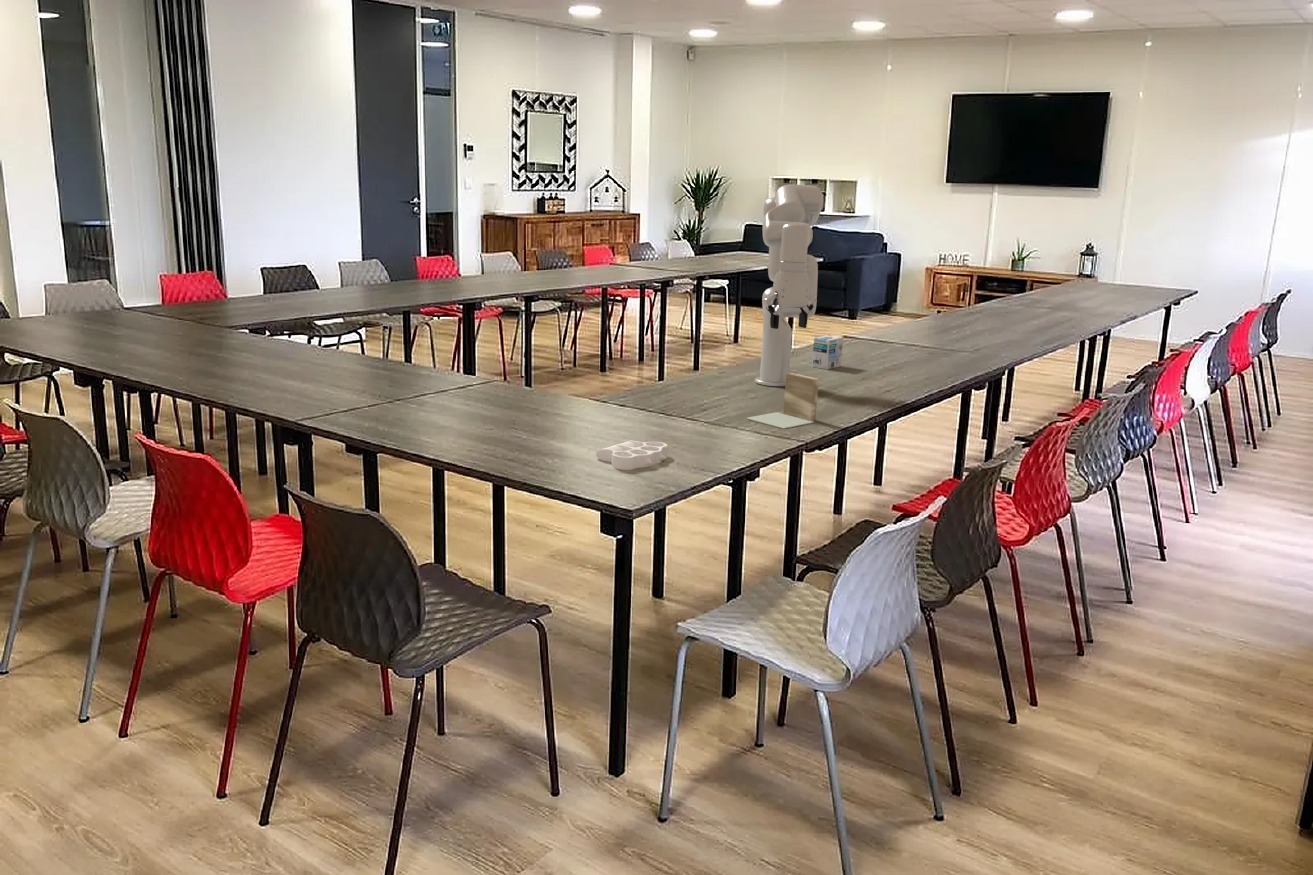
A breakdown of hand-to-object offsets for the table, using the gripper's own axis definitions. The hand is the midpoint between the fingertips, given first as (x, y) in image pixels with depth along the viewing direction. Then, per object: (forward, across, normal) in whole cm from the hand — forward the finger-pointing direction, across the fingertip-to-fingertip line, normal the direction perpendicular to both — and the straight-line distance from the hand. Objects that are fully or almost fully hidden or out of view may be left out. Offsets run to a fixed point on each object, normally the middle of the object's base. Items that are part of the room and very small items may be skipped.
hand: (788, 327), depth 305 cm
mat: (+25, +8, +10) cm, 28 cm away
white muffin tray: (+26, +64, +33) cm, 77 cm away
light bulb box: (+24, -56, -56) cm, 83 cm away
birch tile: (+25, 0, +8) cm, 26 cm away
